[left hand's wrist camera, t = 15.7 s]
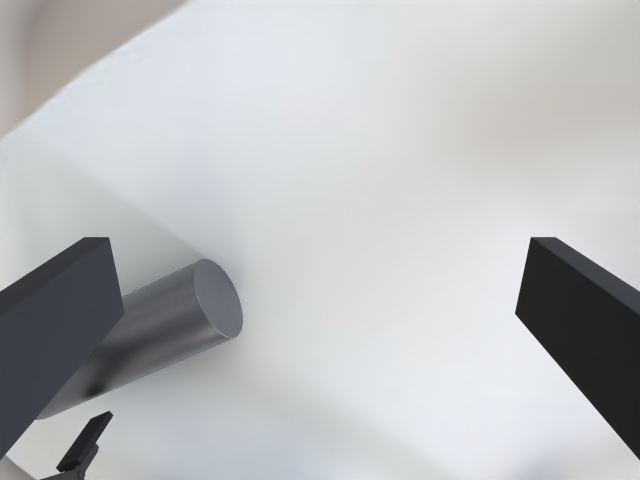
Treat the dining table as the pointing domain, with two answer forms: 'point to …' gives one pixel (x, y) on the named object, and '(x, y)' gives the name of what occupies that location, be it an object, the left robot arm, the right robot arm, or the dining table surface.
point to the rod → (157, 332)
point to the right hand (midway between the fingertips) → (64, 374)
